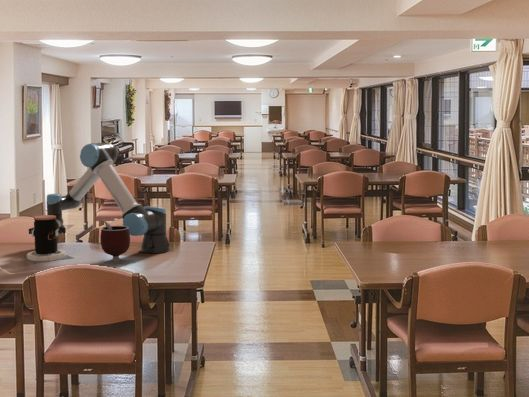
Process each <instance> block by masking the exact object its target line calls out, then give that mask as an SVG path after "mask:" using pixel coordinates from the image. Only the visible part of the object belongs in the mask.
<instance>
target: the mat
mask: <svg viewBox="0 0 529 397" xmlns="http://www.w3.org/2000/svg"><path fill="white" fill-rule="evenodd" d="M19 258H22V259H24V260H26V261H28V262H30V263H32V264H35V265H36V264H42V263H49V262H57V261H65V260H73V259H74V257H73V256H70V255H68V254H66V256H65V258H62V259H58V260H51V261H32V260H29V259H27V254H26V255H19Z"/></svg>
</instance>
